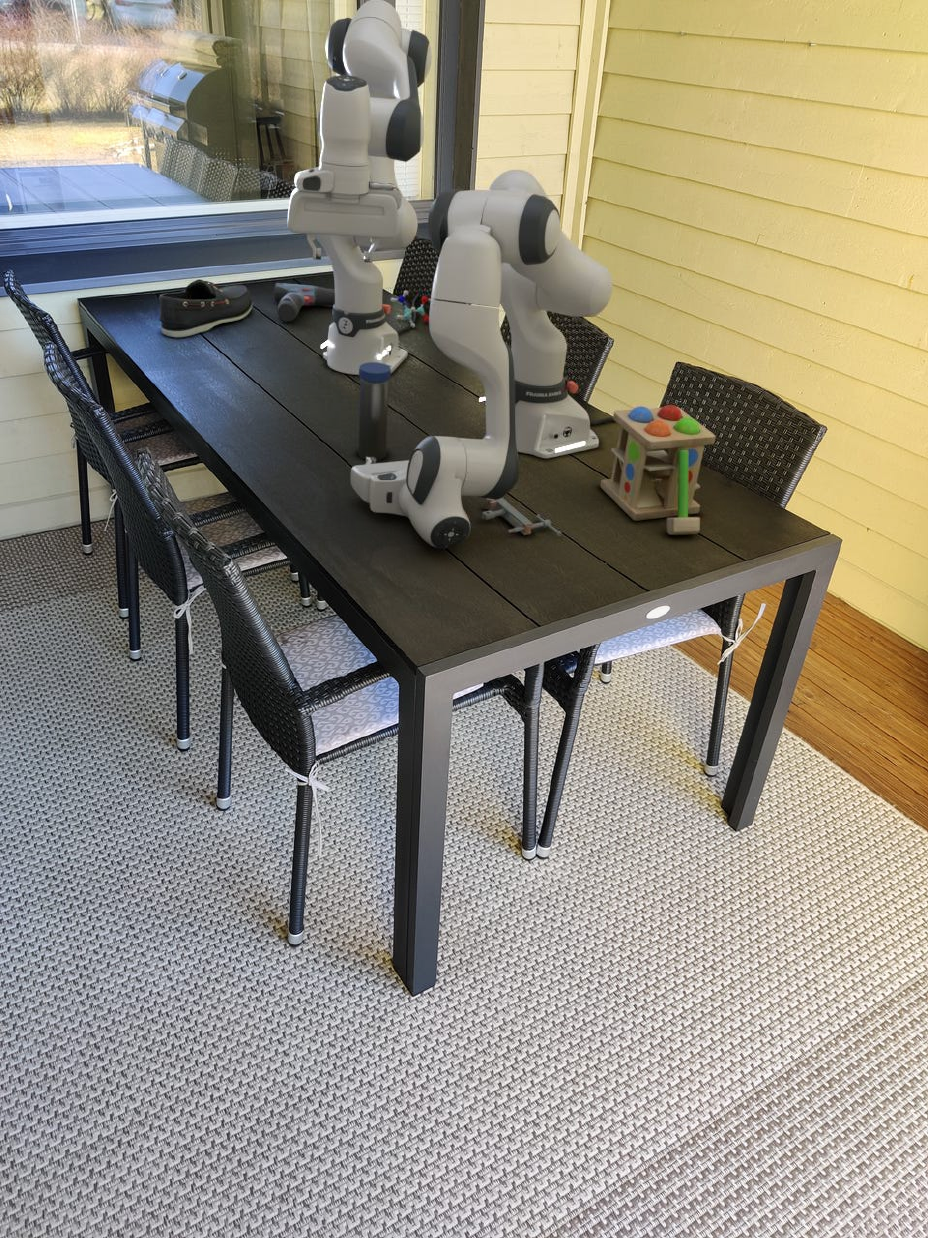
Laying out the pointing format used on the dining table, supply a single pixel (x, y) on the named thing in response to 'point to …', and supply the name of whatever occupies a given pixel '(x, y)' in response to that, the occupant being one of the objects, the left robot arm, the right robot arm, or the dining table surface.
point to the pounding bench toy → (658, 466)
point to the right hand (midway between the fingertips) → (393, 458)
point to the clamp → (514, 517)
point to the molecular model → (408, 311)
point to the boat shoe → (202, 307)
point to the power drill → (300, 298)
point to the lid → (375, 372)
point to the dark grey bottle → (373, 419)
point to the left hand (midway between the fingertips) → (342, 260)
